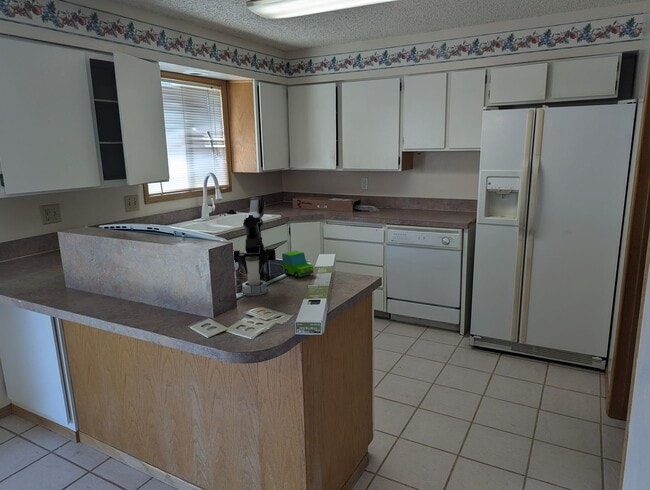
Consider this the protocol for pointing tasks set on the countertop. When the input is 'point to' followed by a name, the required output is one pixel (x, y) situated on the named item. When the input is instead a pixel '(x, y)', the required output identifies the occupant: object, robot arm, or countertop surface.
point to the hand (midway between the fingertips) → (253, 273)
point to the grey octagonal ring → (254, 289)
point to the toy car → (296, 264)
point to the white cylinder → (253, 270)
